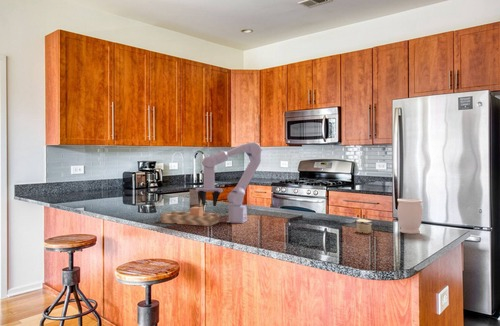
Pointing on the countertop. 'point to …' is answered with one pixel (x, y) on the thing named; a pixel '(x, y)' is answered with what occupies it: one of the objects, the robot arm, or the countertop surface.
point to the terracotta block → (196, 211)
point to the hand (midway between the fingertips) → (209, 205)
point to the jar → (409, 215)
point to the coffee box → (195, 199)
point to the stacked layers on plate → (363, 226)
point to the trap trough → (189, 218)
